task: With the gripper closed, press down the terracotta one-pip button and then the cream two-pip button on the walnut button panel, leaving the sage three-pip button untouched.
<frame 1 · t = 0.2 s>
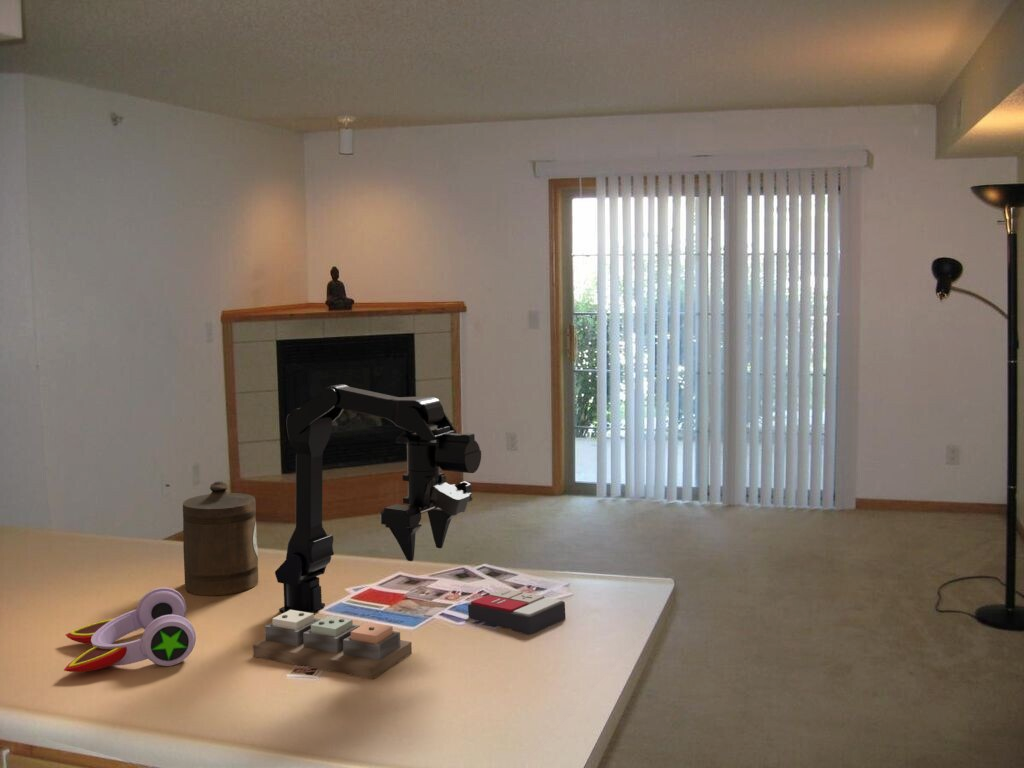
hand: (425, 554, 178), 14 cm above the worktop, fingers open, 9 cm apart
headphones: (130, 654, 172), on the worktop
button cream: (293, 621, 172), point 5 cm above the worktop, slide at 0.0 cm
button panel: (332, 654, 170), on the worktop
button terracotta: (371, 634, 166), point 5 cm above the worktop, slide at 0.0 cm
button sage: (331, 627, 169), point 5 cm above the worktop, slide at 0.0 cm
calculator: (516, 621, 187), on the worktop
wooden container: (222, 586, 209), on the worktop
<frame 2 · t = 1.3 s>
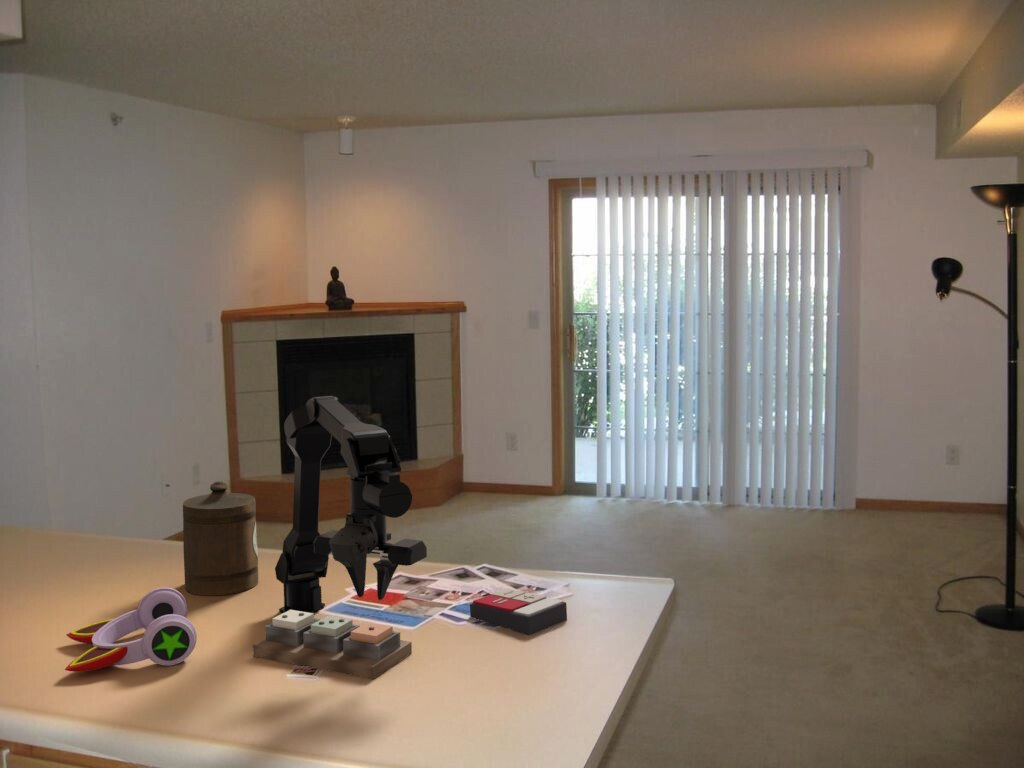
hand: (370, 597, 165), 11 cm above the worktop, fingers open, 4 cm apart
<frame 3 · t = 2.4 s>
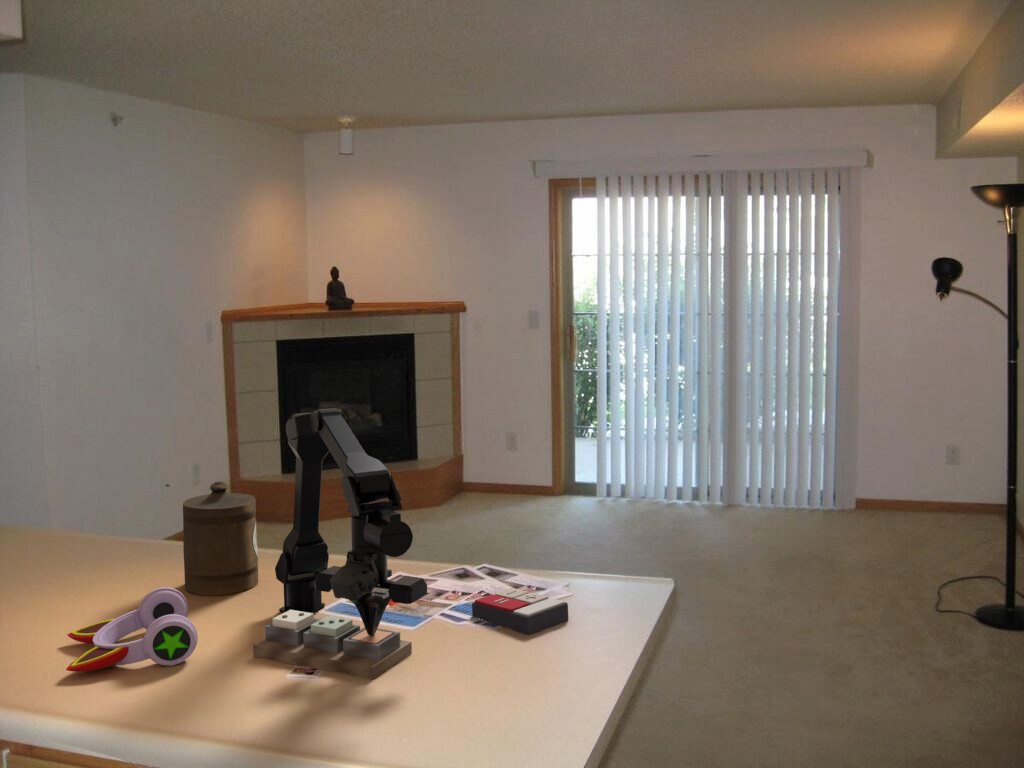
hand: (371, 634, 166), 5 cm above the worktop, fingers closed, pressing on button terracotta
button terracotta: (371, 640, 166), point 4 cm above the worktop, slide at 1.1 cm, touching gripper
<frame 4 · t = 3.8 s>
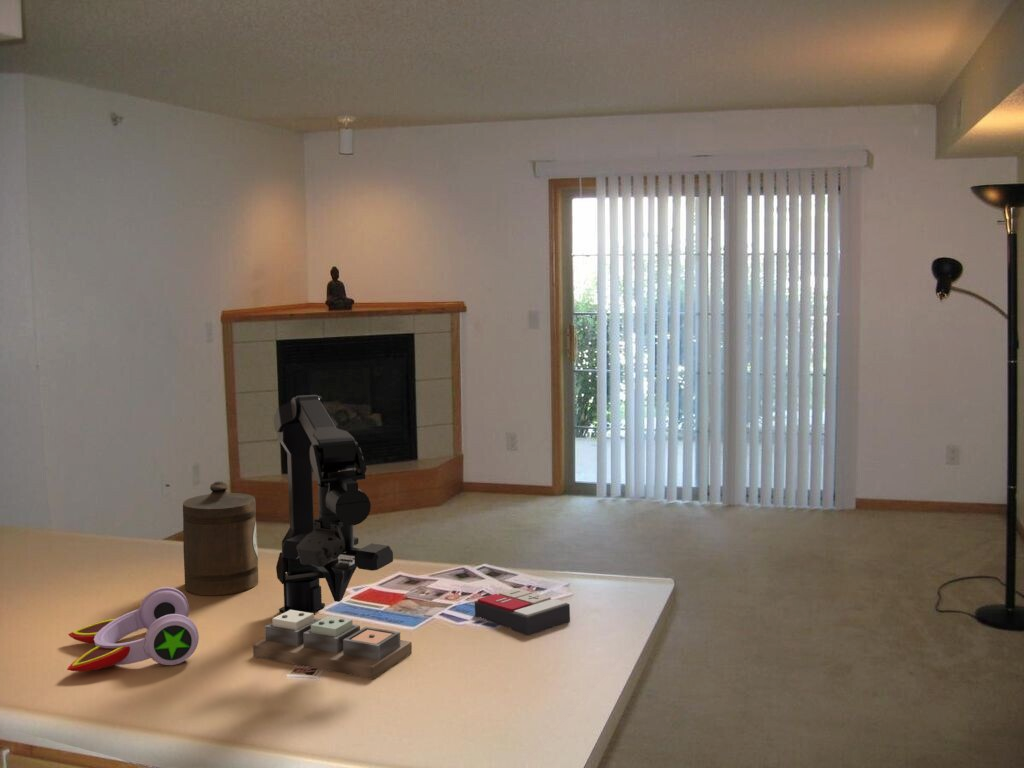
hand: (338, 600, 168), 10 cm above the worktop, fingers closed
button terracotta: (372, 641, 166), point 3 cm above the worktop, slide at 1.3 cm
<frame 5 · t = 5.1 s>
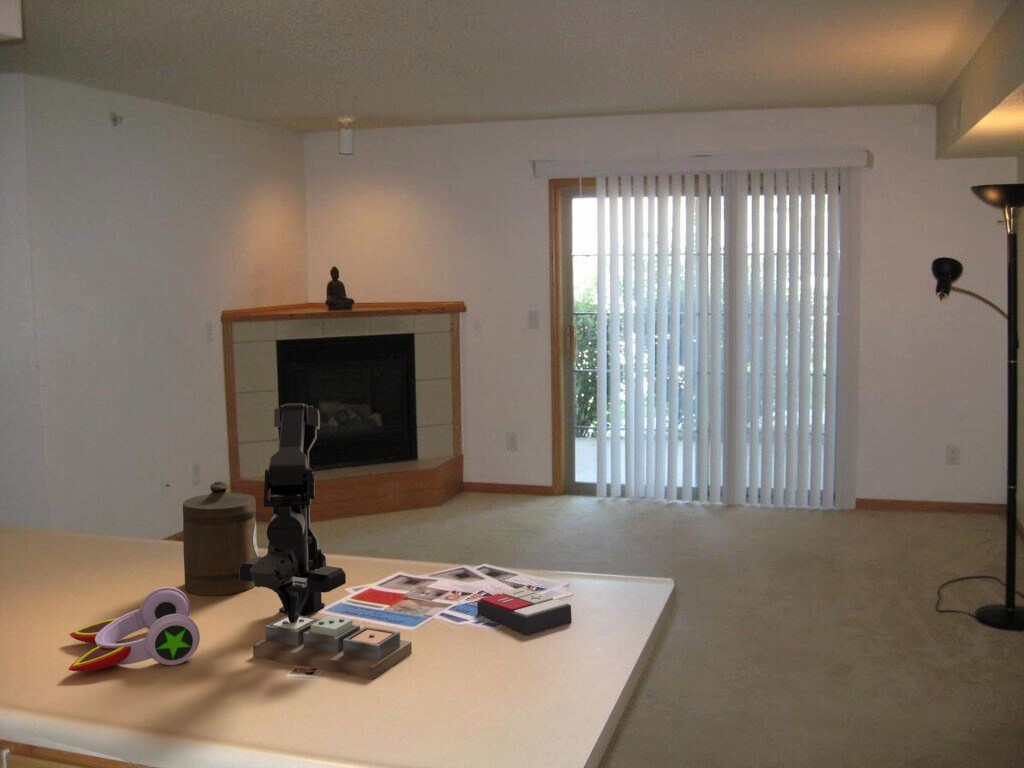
hand: (293, 622, 173), 5 cm above the worktop, fingers closed, pressing on button cream
button cream: (293, 627, 173), point 4 cm above the worktop, slide at 1.1 cm, touching gripper
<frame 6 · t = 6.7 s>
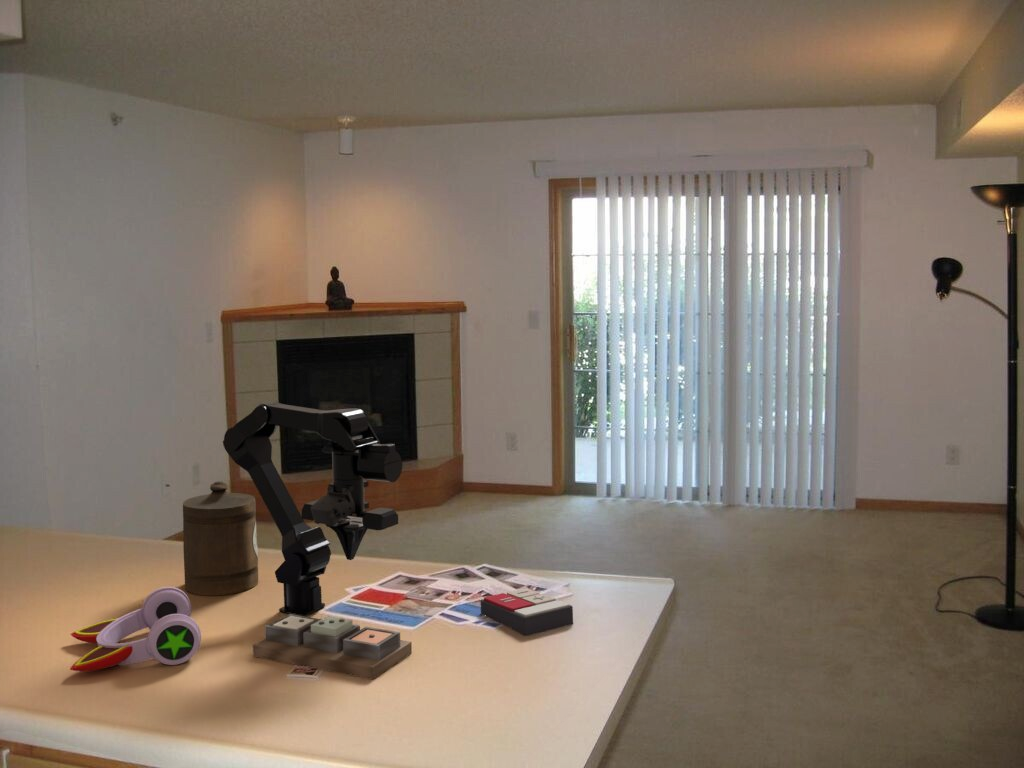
hand: (350, 559, 186), 11 cm above the worktop, fingers closed
button cream: (293, 627, 173), point 4 cm above the worktop, slide at 1.1 cm
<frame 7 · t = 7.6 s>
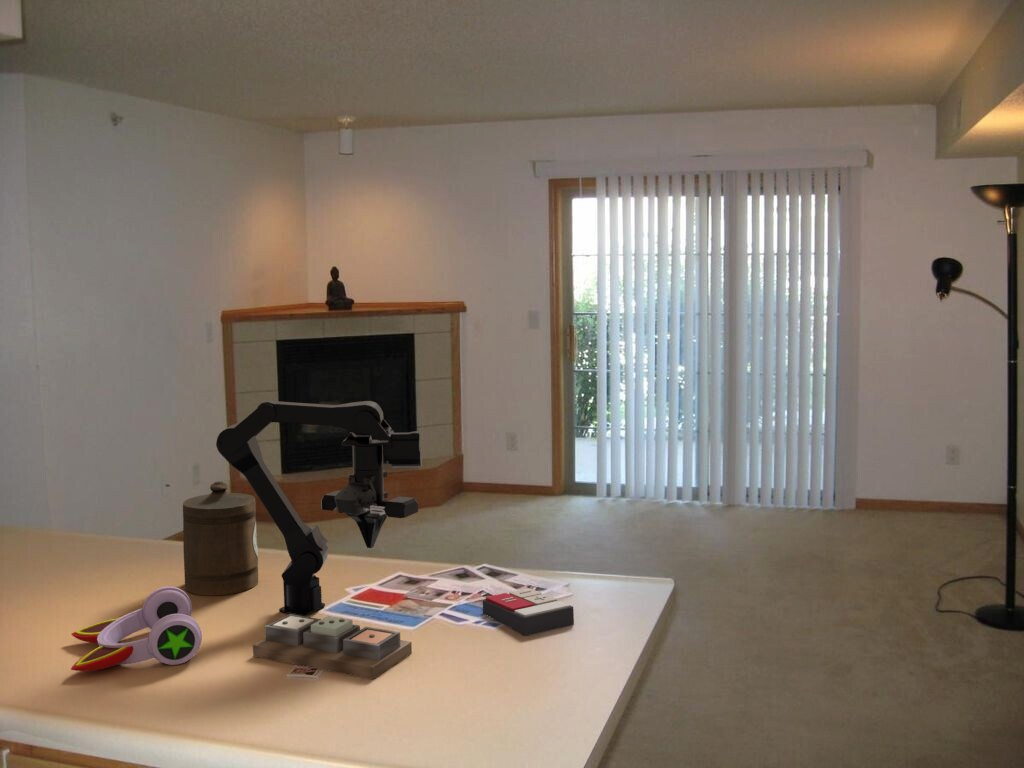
hand: (370, 547, 192), 12 cm above the worktop, fingers closed
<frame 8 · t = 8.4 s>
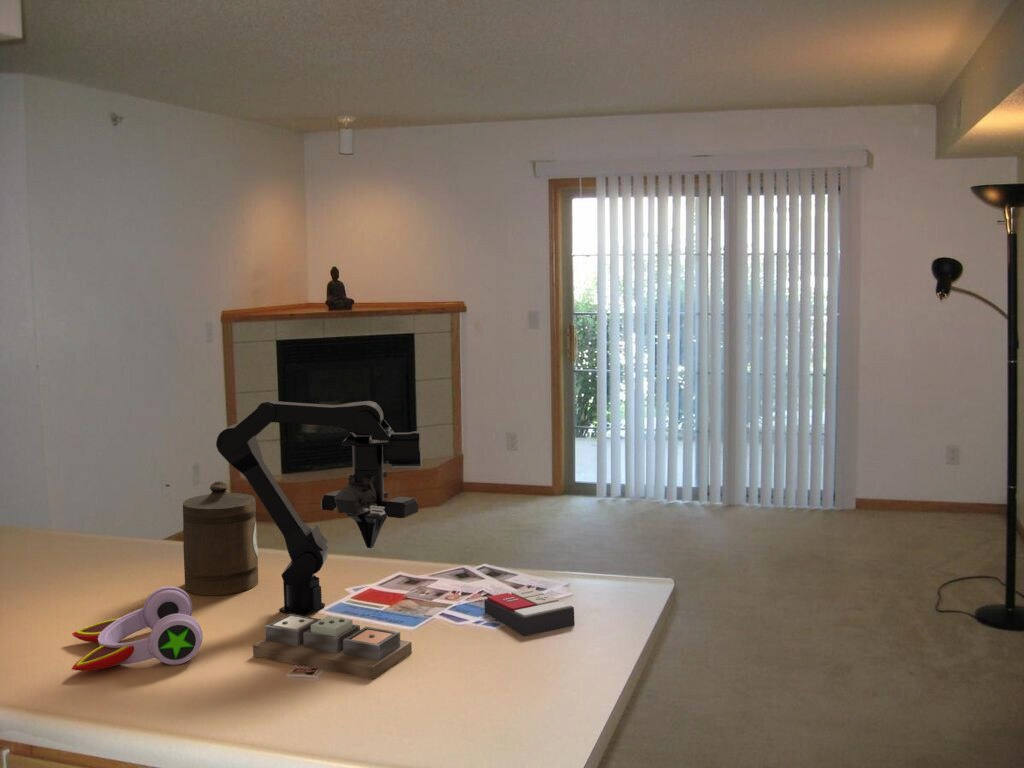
hand: (370, 547, 192), 12 cm above the worktop, fingers closed
at the end: button terracotta slide at 1.3 cm; button cream slide at 1.1 cm; button sage slide at 0.0 cm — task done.
